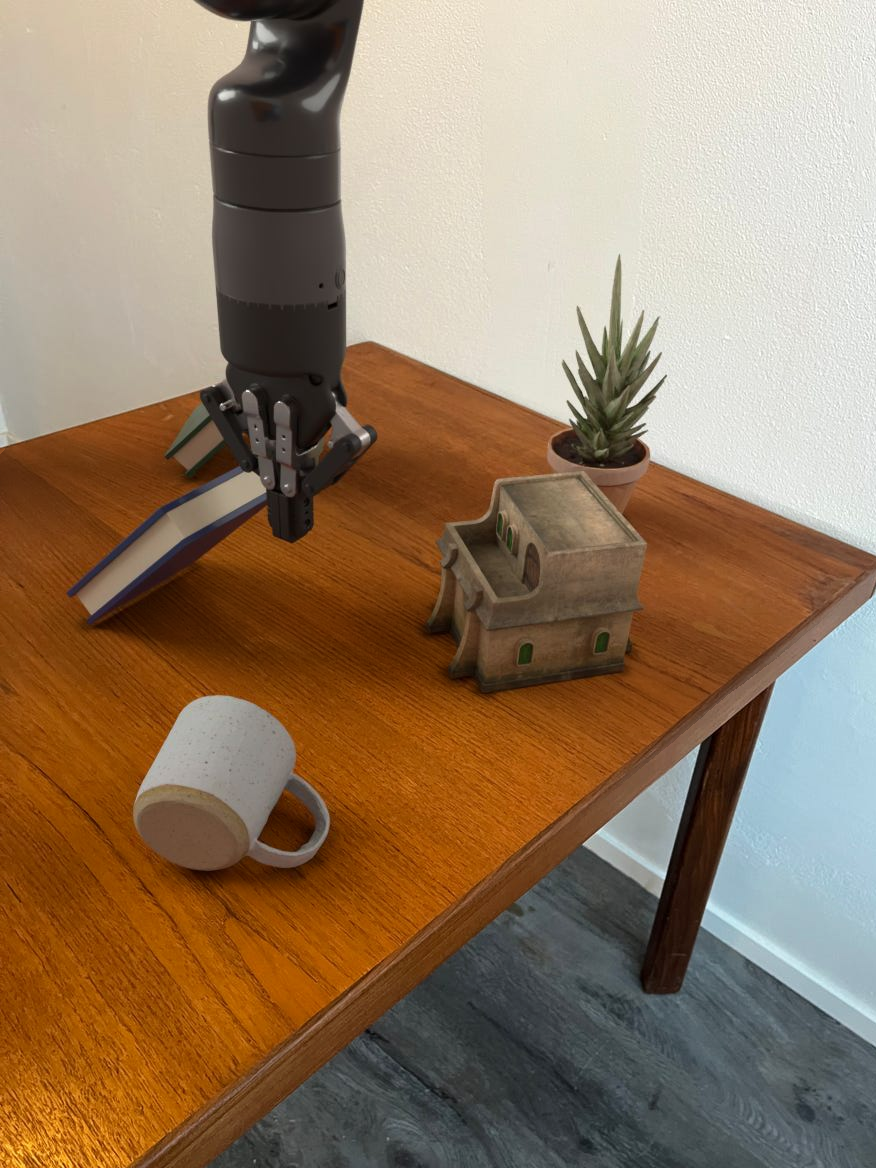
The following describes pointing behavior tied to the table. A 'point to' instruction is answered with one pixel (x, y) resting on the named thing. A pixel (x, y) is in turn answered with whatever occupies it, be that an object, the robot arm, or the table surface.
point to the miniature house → (539, 584)
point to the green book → (196, 441)
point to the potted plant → (609, 409)
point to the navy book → (170, 541)
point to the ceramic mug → (223, 788)
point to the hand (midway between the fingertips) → (291, 535)
